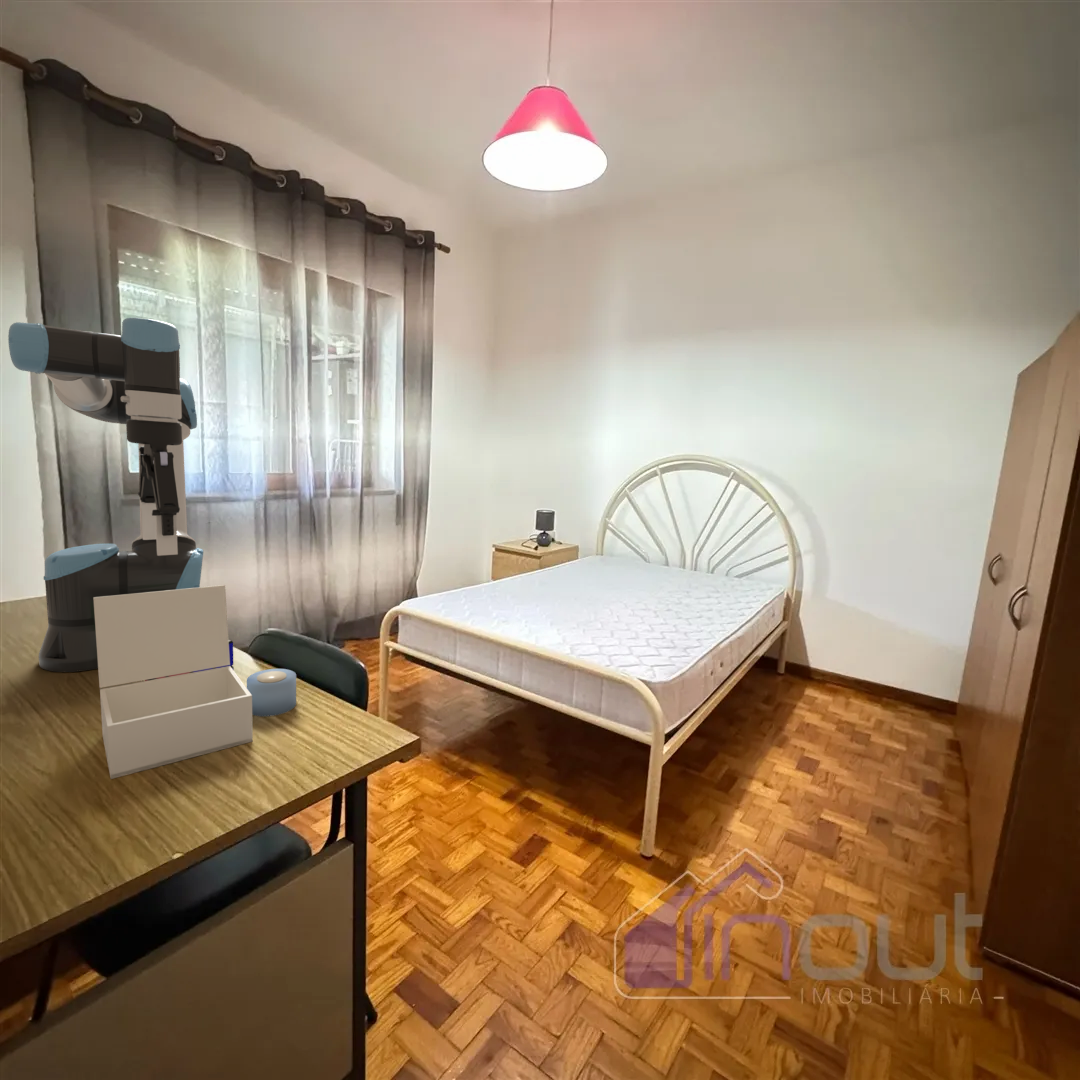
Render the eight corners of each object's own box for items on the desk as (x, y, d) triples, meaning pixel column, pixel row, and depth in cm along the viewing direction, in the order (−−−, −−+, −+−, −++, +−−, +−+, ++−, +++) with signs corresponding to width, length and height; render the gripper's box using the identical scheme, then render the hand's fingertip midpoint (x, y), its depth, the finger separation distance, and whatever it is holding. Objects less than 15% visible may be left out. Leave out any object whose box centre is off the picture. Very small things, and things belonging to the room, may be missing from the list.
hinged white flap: (99, 688, 86) (99, 687, 87) (230, 664, 98) (229, 664, 99) (93, 597, 86) (93, 597, 86) (225, 585, 98) (224, 585, 98)
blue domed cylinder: (241, 703, 101) (241, 673, 100) (288, 692, 107) (288, 664, 106) (254, 721, 95) (253, 689, 95) (302, 709, 101) (302, 679, 100)
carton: (102, 736, 88) (99, 689, 86) (230, 707, 99) (230, 665, 98) (110, 779, 77) (107, 726, 76) (252, 741, 89) (252, 695, 88)
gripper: (115, 415, 98) (121, 534, 102) (138, 420, 80) (145, 564, 84) (166, 419, 103) (170, 532, 107) (199, 424, 85) (202, 559, 89)
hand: (159, 546), depth 95 cm, fingers open, 13 cm apart
